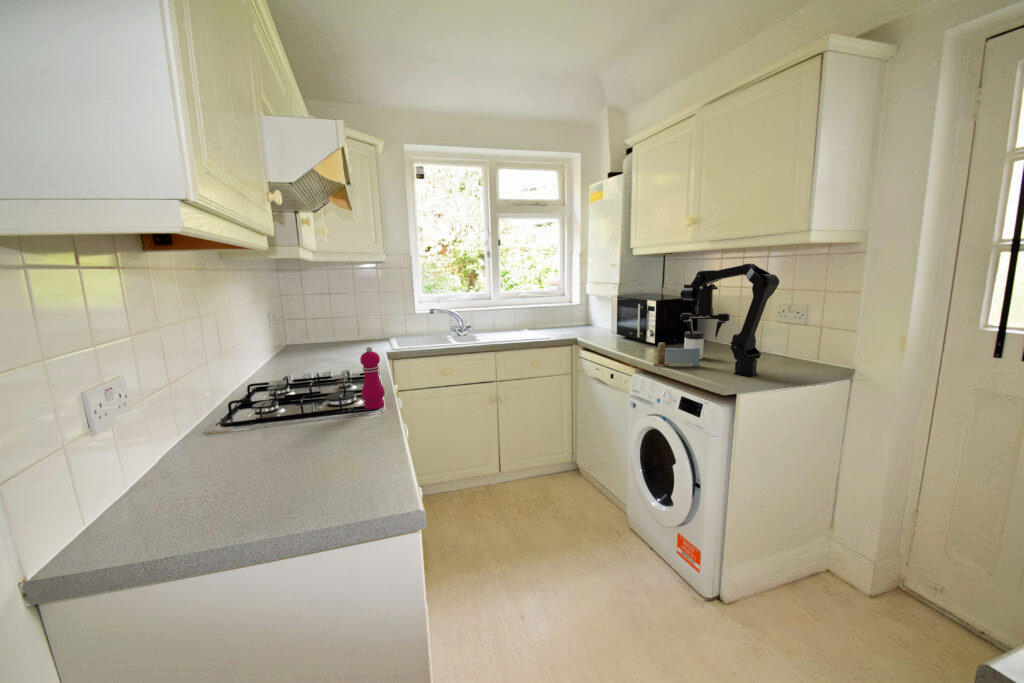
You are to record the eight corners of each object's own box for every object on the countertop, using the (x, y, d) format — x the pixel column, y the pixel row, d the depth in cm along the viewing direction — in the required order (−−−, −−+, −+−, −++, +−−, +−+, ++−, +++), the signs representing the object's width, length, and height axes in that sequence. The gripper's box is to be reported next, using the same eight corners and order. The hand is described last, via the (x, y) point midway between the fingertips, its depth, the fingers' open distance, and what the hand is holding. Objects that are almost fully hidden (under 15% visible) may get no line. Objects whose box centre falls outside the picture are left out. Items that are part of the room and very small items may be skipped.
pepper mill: (373, 411, 132) (368, 349, 128) (358, 408, 135) (352, 348, 132) (390, 404, 138) (385, 345, 134) (375, 401, 141) (369, 344, 138)
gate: (666, 365, 178) (667, 348, 177) (665, 364, 181) (666, 347, 179) (698, 366, 176) (699, 348, 175) (697, 365, 178) (698, 347, 177)
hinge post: (668, 365, 179) (669, 343, 178) (662, 367, 177) (663, 344, 175) (659, 363, 183) (660, 341, 181) (653, 365, 181) (654, 342, 179)
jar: (683, 355, 199) (684, 330, 197) (701, 356, 196) (703, 331, 194) (684, 359, 191) (685, 333, 188) (703, 360, 188) (704, 334, 186)
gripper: (731, 299, 176) (729, 335, 179) (684, 299, 186) (683, 334, 188) (729, 300, 167) (728, 338, 169) (680, 301, 177) (679, 337, 179)
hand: (704, 337), depth 177 cm, fingers open, 9 cm apart
